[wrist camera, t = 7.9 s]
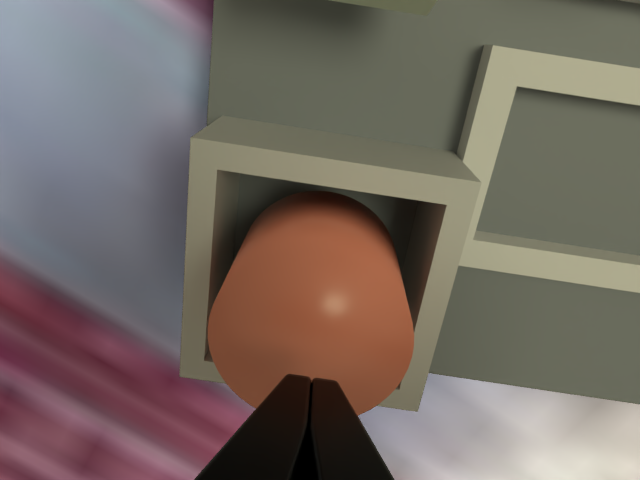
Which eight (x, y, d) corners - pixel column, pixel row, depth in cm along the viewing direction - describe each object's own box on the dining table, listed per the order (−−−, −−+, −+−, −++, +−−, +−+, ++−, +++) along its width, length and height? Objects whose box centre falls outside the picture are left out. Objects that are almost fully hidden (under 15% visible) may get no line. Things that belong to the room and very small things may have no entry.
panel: (786, 392, 18) (936, 515, 14) (209, 306, 18) (163, 402, 13) (1186, -246, 11) (1768, -439, 7) (259, -405, 11) (199, -721, 6)
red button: (380, 341, 14) (391, 436, 11) (235, 320, 14) (201, 408, 10) (411, 204, 12) (435, 265, 9) (248, 179, 12) (214, 232, 9)
